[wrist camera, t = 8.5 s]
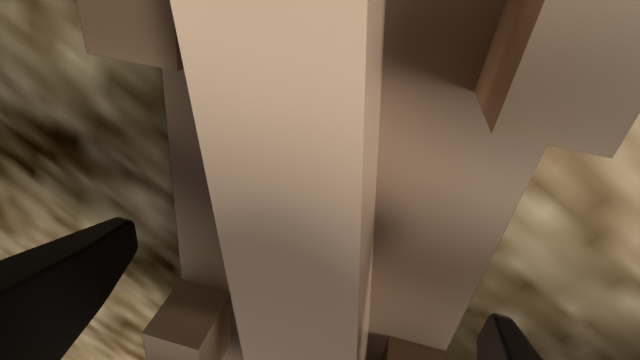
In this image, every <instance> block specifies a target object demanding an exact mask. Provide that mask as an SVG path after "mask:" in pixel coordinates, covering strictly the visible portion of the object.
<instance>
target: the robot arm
mask: <svg viewBox="0 0 640 360" xmlns="http://www.w3.org/2000/svg"><path fill="white" fill-rule="evenodd" d="M137 248H138V242H137V236H136V230H135V225H134V223H133V221H131V220H128V219H124V218H120V217H116V218H113V219H110V220H107V221H104V222H102V223H99V224H96V225H94V226H91V227H88V228H86V229H83V230H80V231H78V232H75V233H72V234H70V235H67V236H64V237H62V238H59V239H56V240H54V241H51V242H48V243H46V244H43V245H40V246H38V247H35V248H32V249H29V250H27V251H24V252H21V253H19V254H16V255H13V256H11V257H8V258H5V259H3V260H0V360H61V358H62V357H63V356H64V355H65V353H66V352H67V351H68V349H69V348H70V347H71V346H72V344H73V343H74V342H75V340H76V339H77V338H78V337H79V335H80V334H81V333H82V331H83V330H84V329H85V327H86V326H87V325H88V324H89V322H90V321H91V320H92V318H93V317H94V316H95V315H96V313H97V312H98V311H99V309H100V308H101V307H102V305H103V304H104V302H105V301H106V299H107V298H108V297H109V295H110V293H111V292H112V290H113V289H114V287H115V285H116V284H117V282H118V281H119V279H120V277H121V276H122V274H123V273H124V271H125V269H126V268H127V266H128V265H129V263H130V262H131V260H132V258H133V257H134V255H135V253H136V251H137ZM477 360H543V359H542V358H541V356H540V355H539V354H538V352H537V351H536V350H535V348H534V347H533V346H532V345H531V343H530V342H529V341H528V339H527V338H526V337H525V335H524V334H523V333H522V331H521V330H520V329H519V328H518V326H517V325H516V324H515V322H514V321H513V320H512V319H511V318H509V317H507V316H503V315H499V314H495V313H493V314H491V315H490V316H489V317H488V319H487V321H486V322H485V324H484V326H483V328H482V330H481V332H480V333H479V335H478V339H477Z"/></svg>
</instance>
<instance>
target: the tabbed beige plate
mask: <svg viewBox="0 0 640 360" xmlns="http://www.w3.org/2000/svg"><path fill="white" fill-rule="evenodd" d="M76 1H77V6H78V11H79V16H80V21H81V27H82V32H83V37H84V42H85V47H86V52H87V53H88V54H93V55H98V56H103V57H108V58H113V59H118V60H123V61H128V62H133V63H138V64H143V65H148V66H153V67H158V68H162V78H163V89H164V99H165V109H166V120H167V130H168V141H169V151H170V162H171V172H172V182H173V193H174V203H175V214H176V224H177V235H178V245H179V255H180V266H181V276H182V279H181V281H180V282H179V283H178V285H177V286H176V287H175V289H174V290H173V291H172V293H171V294H170V295H169V297H168V298H167V300H166V301H165V302H164V304H163V305H162V306H161V308H160V309H159V310H158V312H157V313H156V314H155V316H154V317H153V319H152V320H151V321H150V323H149V324H148V325H147V327H146V328H145V329H144V331H143V332H142V338H143V344H144V349H145V354H146V359H147V360H244V358H243V353H242V348H241V344H240V339H239V334H238V329H237V324H236V319H235V314H234V310H233V305H232V300H231V295H230V290H229V285H228V280H227V276H226V271H225V266H224V261H223V256H222V251H221V246H220V242H219V237H218V232H217V227H216V222H215V217H214V212H213V208H212V203H211V198H210V193H209V188H208V183H207V178H206V174H205V169H204V164H203V159H202V154H201V149H200V144H199V140H198V135H197V130H196V125H195V120H194V115H193V110H192V105H191V101H190V96H189V91H188V86H187V81H186V76H185V71H184V67H183V62H182V57H181V52H180V47H179V42H178V37H177V33H176V28H175V23H174V18H173V13H172V8H171V3H170V0H76ZM639 113H640V0H386V2H385V22H384V41H383V61H382V80H381V100H380V119H379V138H378V158H377V177H376V197H375V216H374V236H373V255H372V275H371V294H370V313H369V333H368V352H367V360H447V359H446V350H447V348H448V346H449V344H450V342H451V340H452V338H453V336H454V334H455V332H456V330H457V327H458V325H459V323H460V321H461V319H462V317H463V315H464V313H465V311H466V309H467V307H468V305H469V303H470V301H471V299H472V297H473V295H474V293H475V291H476V289H477V287H478V285H479V283H480V281H481V279H482V277H483V275H484V273H485V270H486V268H487V266H488V264H489V262H490V260H491V258H492V256H493V254H494V252H495V250H496V248H497V246H498V244H499V242H500V240H501V238H502V236H503V234H504V232H505V230H506V228H507V226H508V224H509V222H510V220H511V218H512V216H513V213H514V211H515V209H516V207H517V205H518V203H519V201H520V199H521V197H522V195H523V193H524V191H525V189H526V187H527V185H528V183H529V181H530V179H531V177H532V175H533V173H534V171H535V169H536V167H537V165H538V163H539V161H540V158H541V156H542V154H543V152H544V150H545V148H546V146H547V145H548V146H553V147H558V148H563V149H568V150H573V151H578V152H583V153H588V154H593V155H598V156H603V157H608V158H613V156H614V155H615V153H616V151H617V150H618V148H619V146H620V145H621V143H622V141H623V140H624V138H625V136H626V135H627V133H628V131H629V130H630V128H631V126H632V125H633V123H634V121H635V120H636V118H637V117H638V115H639Z"/></svg>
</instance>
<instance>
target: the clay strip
mask: <svg viewBox="0 0 640 360" xmlns="http://www.w3.org/2000/svg"><path fill="white" fill-rule="evenodd" d="M385 2H386V0H170V3H171V8H172V13H173V18H174V23H175V28H176V33H177V37H178V42H179V47H180V52H181V57H182V62H183V67H184V71H185V76H186V81H187V86H188V91H189V96H190V101H191V105H192V110H193V115H194V120H195V125H196V130H197V135H198V140H199V144H200V149H201V154H202V159H203V164H204V169H205V174H206V178H207V183H208V188H209V193H210V198H211V203H212V208H213V212H214V217H215V222H216V227H217V232H218V237H219V242H220V246H221V251H222V256H223V261H224V266H225V271H226V276H227V280H228V285H229V290H230V295H231V300H232V305H233V310H234V314H235V319H236V324H237V329H238V334H239V339H240V344H241V348H242V353H243V358H244V360H367V352H368V333H369V313H370V294H371V275H372V255H373V236H374V216H375V197H376V177H377V158H378V138H379V119H380V100H381V80H382V61H383V41H384V22H385Z"/></svg>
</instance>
